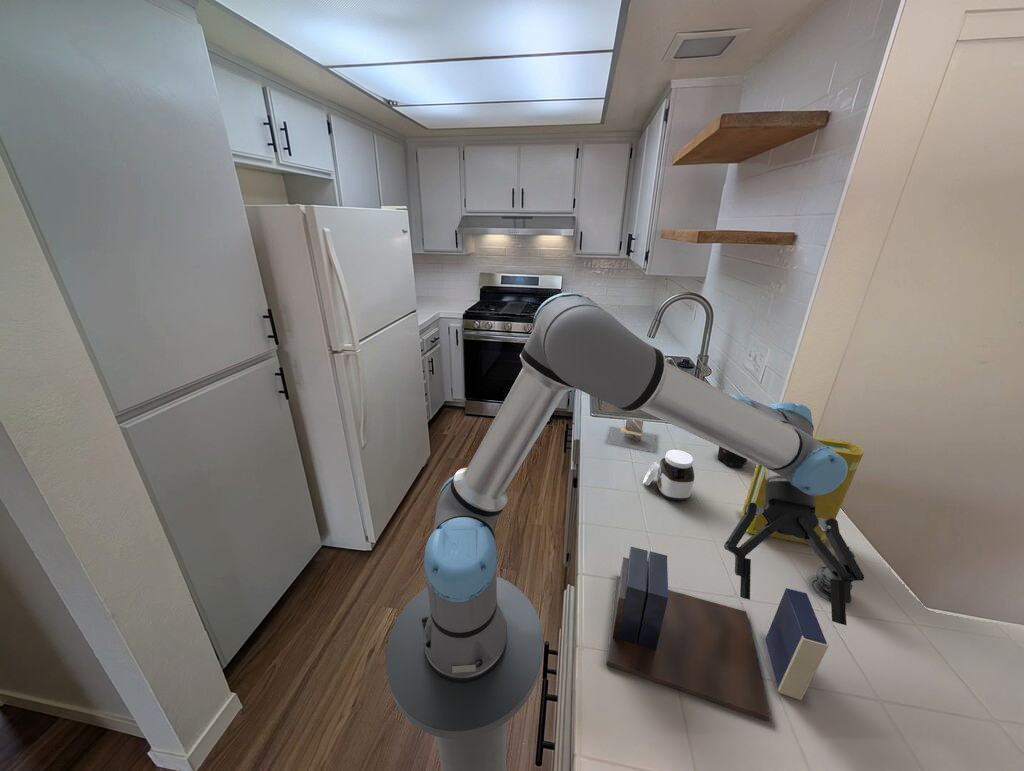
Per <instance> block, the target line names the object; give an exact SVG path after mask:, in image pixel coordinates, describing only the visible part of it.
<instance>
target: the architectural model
mask: <svg viewBox="0 0 1024 771" xmlns="http://www.w3.org/2000/svg"><path fill="white" fill-rule="evenodd" d="M643 428H644V420H642V419H636V418H630V417H626V421H625V427H623V426H622V427H621V429H618V428H614V427H612V428H611V431H610V435H609V439H608V442H607V444H609V445H613V446H619V447H625V448H629V449H630V448H631V449H634V450H640V451H646V452H650V453H655V452H656V442H657V436H656V435H654V434H647V433H643Z"/></svg>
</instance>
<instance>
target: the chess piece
mask: <svg viewBox="0 0 1024 771" xmlns="http://www.w3.org/2000/svg"><path fill="white" fill-rule="evenodd" d="M847 546H848V545H847ZM848 548H849V550H850V552H851V554H852V555H853V557H854V559H855V558H856V556H855V553H854V552H853V551H852V550H851V548H850V546H848ZM833 555H834V557H835V558H836V559H837V560H838V562H839V563H840V564H841V562H840V561H839V559H838V557H837V555H836V553H835V552H833ZM841 565H842V564H841ZM814 572H815V578H816V579H814V580H812V581H811V582H812V583H811V587H812V589H813V590H814V591H815V593H816V594H817V595H819V596H820V597H821V598H822V599H824V600H826V601H829V602H831V586H830V579H835V580H837V579H836V577H835V576H834V575H833V574H832V572H831V571H830V570H829V569H828V568H827V566H826V565H825V566H822V565H821V566H818V567H816V568H815V571H814ZM850 588H851V591H852V590H853V588H854V587H853V582H851V584H850Z"/></svg>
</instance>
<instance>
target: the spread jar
mask: <svg viewBox="0 0 1024 771" xmlns="http://www.w3.org/2000/svg"><path fill="white" fill-rule="evenodd" d="M693 463H694V457H693V456H692V455H691V454H690V453H688V452H687V451H683V450H680V449H669V450H667V451H666V453H665V456H664V457H663V458H661V459H660V461H659V463H657V462H656V461H653V463H652V464H651V465H650V466H649V468H648V469H647V472H646V473H645V476H644V478H643V481H642V484H644V485H646V486H649V485H651V483H652V482H653V480H654V478H655V477H656V484H657V485H656V486H657V489H658V492H659V494H660V495H662V496H663V497H665V498H666V499H669V500H672V501H681V500H682V501H683V500H686V499H688V498H690V497H691V495H692V492H693V489H694V484H695V471H694V467H693Z"/></svg>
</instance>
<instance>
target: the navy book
mask: <svg viewBox="0 0 1024 771" xmlns="http://www.w3.org/2000/svg"><path fill="white" fill-rule="evenodd" d="M764 640H765V644H766V647H767V652H768V655H769V659H770V662H771V666H772V670H773V671H772V672H773V674H774V678H775V683H776V686H777V691H778V693H779V694H782V695H784V696H788V697H791V698H793V699H796V700H799V701H802V700H803V698H804V696H805V694H806V692H807V690H808V689H809V686H810V685H811V683H812V680H813V678H814V677H815V674H816V672H817V670H818V668H819V666H820V664H821V662H822V660H823V658H824V656H825V655H826V652H827V650H828V648H829V643H828V642H827V640H826V637H825V635H824V633H823V630H822V628H821V625H820V623H819V620H818V618H817V615H816V613H815V610H814V608H813V606H812V602H811V601H810V598H809V596H808V593H806V592H804V591H799V590H796V589H791V588H788V587H785V589H784V591H783V594H782V597H781V599H780V601H779V604H778V606H777V610H776V611H775V614H774V617H773V619H772V621H771V624H770V627H769V629H768V631H767V634H766V636H765V639H764Z"/></svg>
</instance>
